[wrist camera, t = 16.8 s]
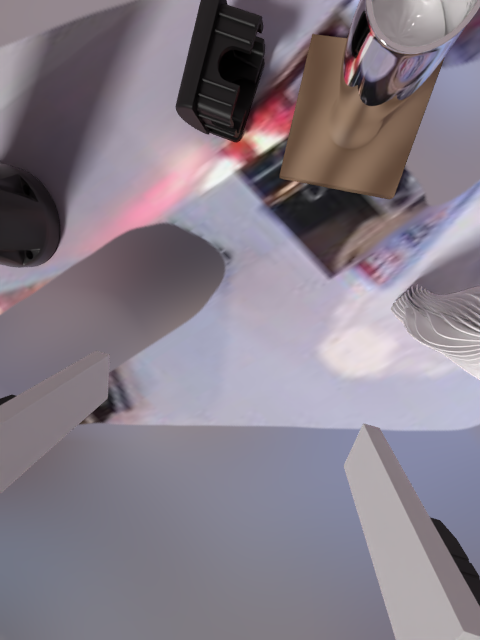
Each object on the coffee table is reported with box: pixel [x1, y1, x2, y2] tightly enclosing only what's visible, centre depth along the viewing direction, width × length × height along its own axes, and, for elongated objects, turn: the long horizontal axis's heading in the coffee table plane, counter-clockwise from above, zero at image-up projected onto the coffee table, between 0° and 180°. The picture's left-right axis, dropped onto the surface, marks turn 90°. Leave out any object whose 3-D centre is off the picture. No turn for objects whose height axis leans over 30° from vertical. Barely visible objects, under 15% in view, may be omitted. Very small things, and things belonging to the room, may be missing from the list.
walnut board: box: [280, 34, 445, 199], centre depth 28 cm, size 14×14×1 cm
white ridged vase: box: [391, 284, 480, 380], centre depth 24 cm, size 8×8×18 cm
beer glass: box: [327, 0, 480, 150], centre depth 21 cm, size 7×7×15 cm
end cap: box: [176, 0, 265, 142], centre depth 27 cm, size 10×7×7 cm
